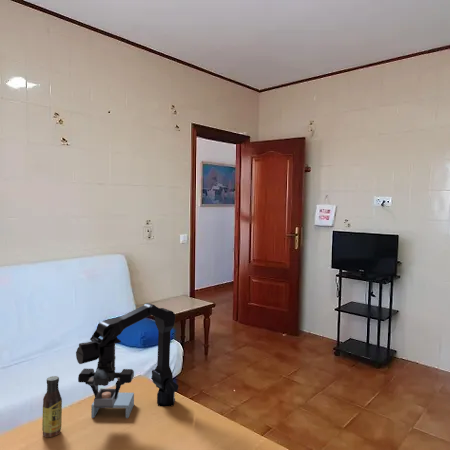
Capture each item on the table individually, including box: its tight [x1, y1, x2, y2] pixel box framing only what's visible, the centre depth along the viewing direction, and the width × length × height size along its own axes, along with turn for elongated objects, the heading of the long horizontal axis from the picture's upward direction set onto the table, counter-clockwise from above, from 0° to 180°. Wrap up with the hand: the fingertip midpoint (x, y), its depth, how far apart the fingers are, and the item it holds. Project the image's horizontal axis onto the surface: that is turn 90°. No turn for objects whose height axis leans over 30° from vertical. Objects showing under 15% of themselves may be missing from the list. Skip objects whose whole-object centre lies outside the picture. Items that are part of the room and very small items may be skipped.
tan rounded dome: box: [102, 392, 111, 399], centre depth 140 cm, size 3×3×2 cm
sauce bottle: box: [41, 375, 63, 438], centre depth 137 cm, size 7×6×20 cm
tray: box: [93, 388, 118, 409], centre depth 140 cm, size 6×8×3 cm
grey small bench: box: [90, 392, 135, 419], centre depth 152 cm, size 14×10×6 cm
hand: (106, 398), depth 140 cm, fingers closed on tray, 6 cm apart
